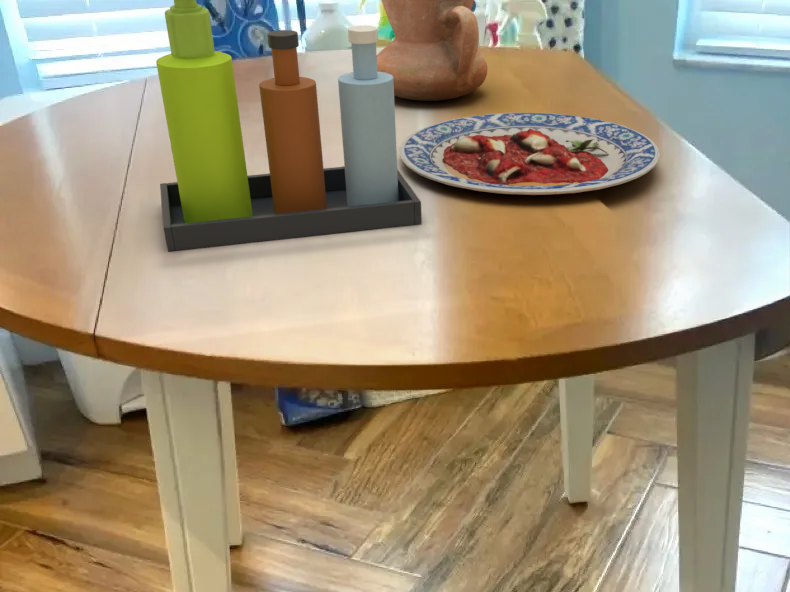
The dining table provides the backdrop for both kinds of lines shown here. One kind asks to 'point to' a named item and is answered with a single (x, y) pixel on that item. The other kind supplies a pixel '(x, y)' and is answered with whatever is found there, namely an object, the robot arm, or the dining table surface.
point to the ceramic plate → (529, 153)
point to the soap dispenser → (203, 118)
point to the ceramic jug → (432, 49)
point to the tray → (286, 216)
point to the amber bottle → (292, 130)
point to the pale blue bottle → (368, 124)
